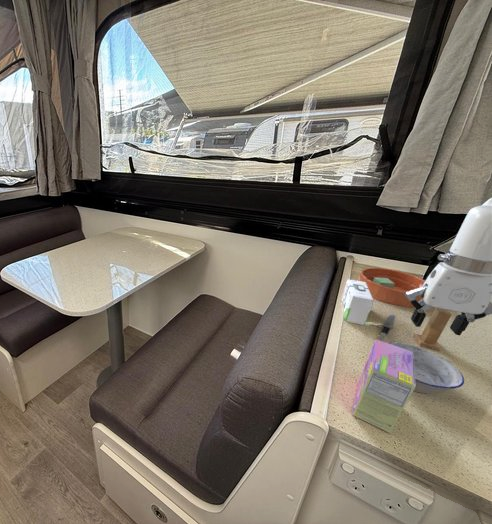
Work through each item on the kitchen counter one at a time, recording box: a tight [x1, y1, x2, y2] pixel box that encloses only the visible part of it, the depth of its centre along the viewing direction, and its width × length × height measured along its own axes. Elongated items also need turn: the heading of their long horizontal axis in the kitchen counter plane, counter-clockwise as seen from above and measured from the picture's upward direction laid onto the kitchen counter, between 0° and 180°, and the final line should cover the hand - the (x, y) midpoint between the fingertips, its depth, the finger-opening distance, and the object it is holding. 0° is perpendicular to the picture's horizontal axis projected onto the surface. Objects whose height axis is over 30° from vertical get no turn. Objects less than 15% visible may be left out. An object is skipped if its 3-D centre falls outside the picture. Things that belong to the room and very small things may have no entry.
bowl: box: [387, 341, 465, 395], centre depth 58 cm, size 13×13×5 cm
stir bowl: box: [357, 267, 426, 308], centre depth 90 cm, size 18×18×6 cm
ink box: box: [341, 278, 375, 326], centre depth 80 cm, size 9×5×12 cm
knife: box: [376, 314, 395, 340], centre depth 75 cm, size 15×1×3 cm
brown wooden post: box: [413, 307, 453, 351], centre depth 67 cm, size 4×4×10 cm
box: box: [351, 339, 416, 434], centre depth 51 cm, size 10×6×12 cm, turn 138°
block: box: [373, 277, 395, 289], centre depth 91 cm, size 4×4×4 cm
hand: (434, 327), depth 67 cm, fingers open, 6 cm apart
